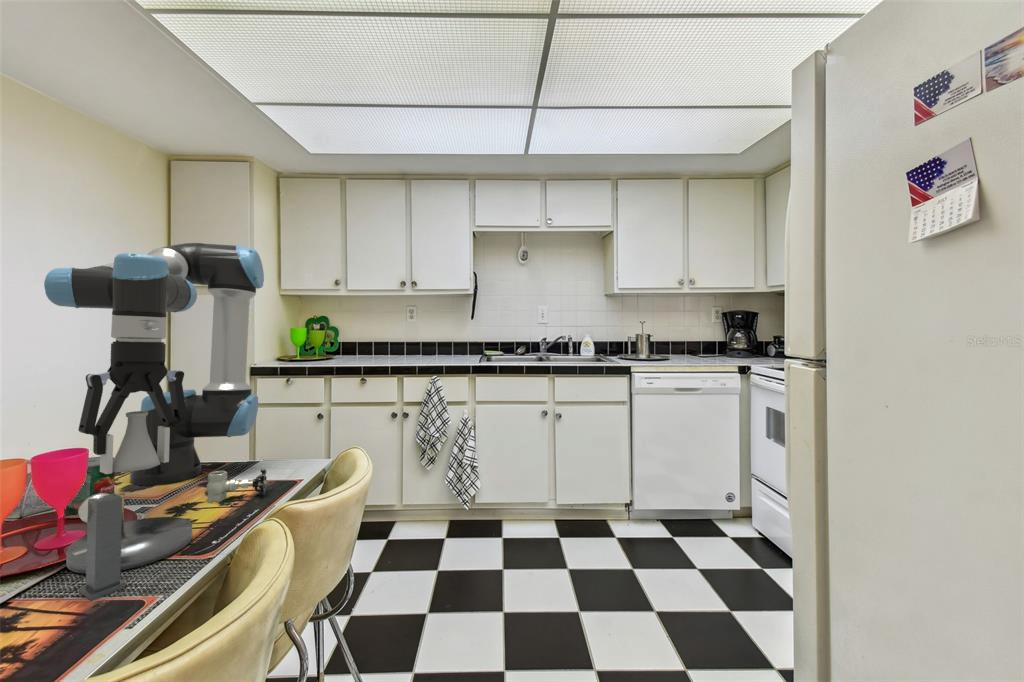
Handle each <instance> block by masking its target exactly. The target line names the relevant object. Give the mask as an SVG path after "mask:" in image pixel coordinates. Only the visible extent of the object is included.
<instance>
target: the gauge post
mask: <svg viewBox="0 0 1024 682" xmlns="http://www.w3.org/2000/svg"><path fill="white" fill-rule="evenodd" d="M116 494H117V493H114V494H107V493H99V494H95V495H92V496H90V497H89V498H87V499H86V500H85V501H84V502H83V503H82V504H81V506H80V508H79V511H78V515H79V518H80V519H79V520H81V521H82V522H84V523H86V524H87V527H86V529H87V530H86V532H87V533H86V535H87V560H86V573H85V585H82V586H79V594H81V595H83V596H84V597H86V598H87V599H89V600H90V601H94V600H96V599H98V598H102V597H104V596H106V595H109V594H111V593H115V592H117V591H119V590H121V589H125V588H126V583H127V582H126V581H125V580H123V579H121V570H120V566H121V529H122V497H120V496H118V495H116Z"/></svg>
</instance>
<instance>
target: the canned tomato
mask: <svg viewBox="0 0 1024 682" xmlns="http://www.w3.org/2000/svg"><path fill="white" fill-rule="evenodd" d="M87 458H88V469H87V476H86V480H85V482H84V485H83V486H82V488H81V489H80V491H79V492H78V494H77V495H76V497H75V498H74V499H73V500H72V502H71V503H70V504H69V505H68V506H67V507H66V509H65V519H66V517H67V516H70V515H77V514H78V511H79V508H80V506H81V504H82V503H83V502H84V501H85V500H86V499H87V498H89V497H90V496H92V495H95V494H99V493H107V494H115V488H116V487H115V485H116V484H115V482H116V481H115V479H116V476H115V475H116V472H112V473H111V474H105V473H102V472H100V456H91V457H87ZM114 458H115V456H113V460H114Z"/></svg>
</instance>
